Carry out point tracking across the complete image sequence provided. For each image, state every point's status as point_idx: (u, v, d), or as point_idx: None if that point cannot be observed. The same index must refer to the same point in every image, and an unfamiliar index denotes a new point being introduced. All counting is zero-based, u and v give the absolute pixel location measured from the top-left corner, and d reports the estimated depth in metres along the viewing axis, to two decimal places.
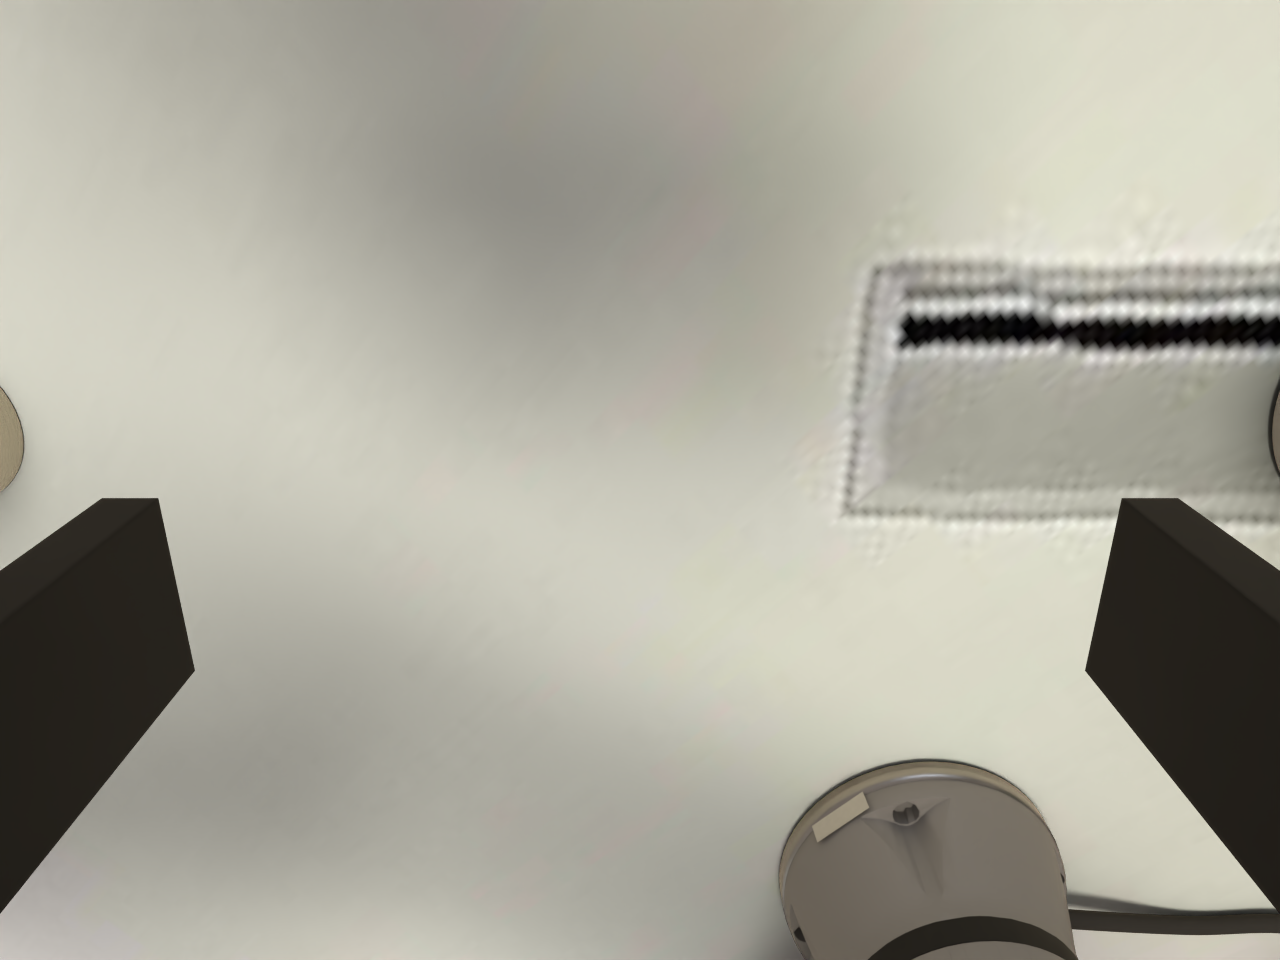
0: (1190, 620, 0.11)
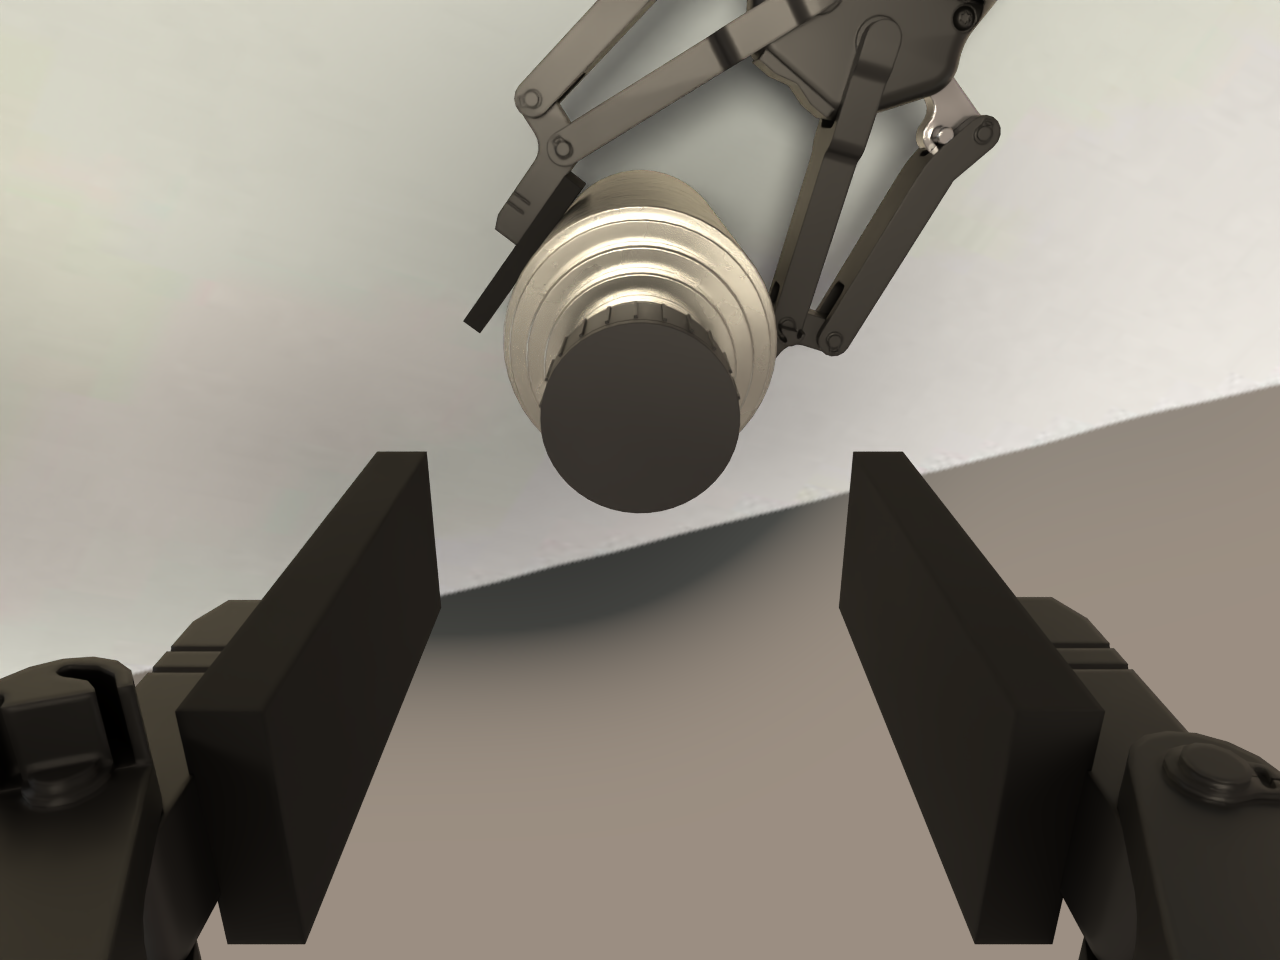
0: (879, 551, 0.12)
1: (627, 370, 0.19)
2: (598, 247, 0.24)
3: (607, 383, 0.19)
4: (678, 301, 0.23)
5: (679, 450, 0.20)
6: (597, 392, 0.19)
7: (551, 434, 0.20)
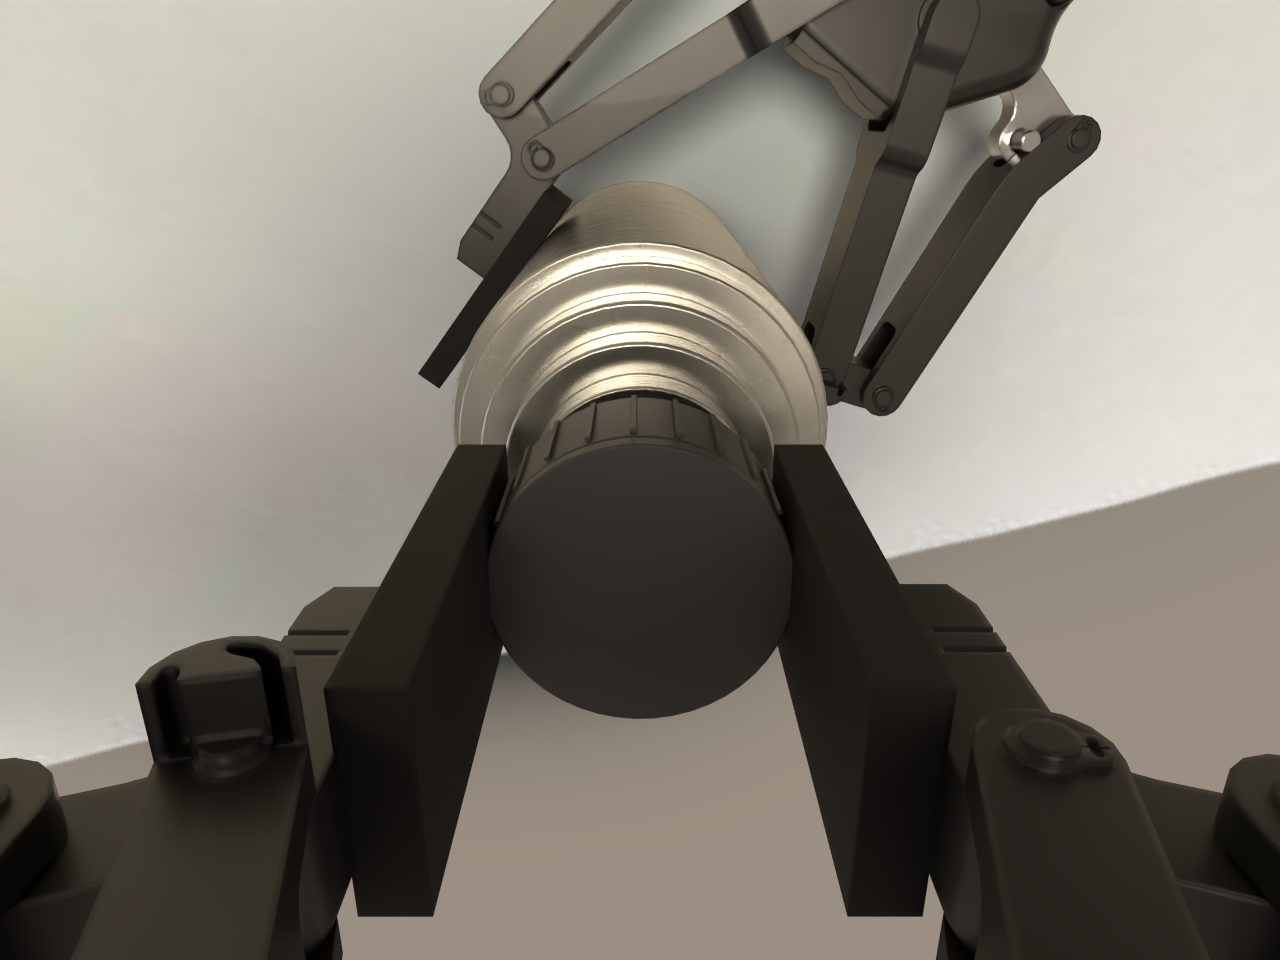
0: (790, 540, 0.13)
1: (620, 515, 0.12)
2: (581, 301, 0.17)
3: (589, 534, 0.12)
4: (695, 383, 0.16)
5: (700, 631, 0.13)
6: (574, 548, 0.12)
7: (503, 608, 0.13)
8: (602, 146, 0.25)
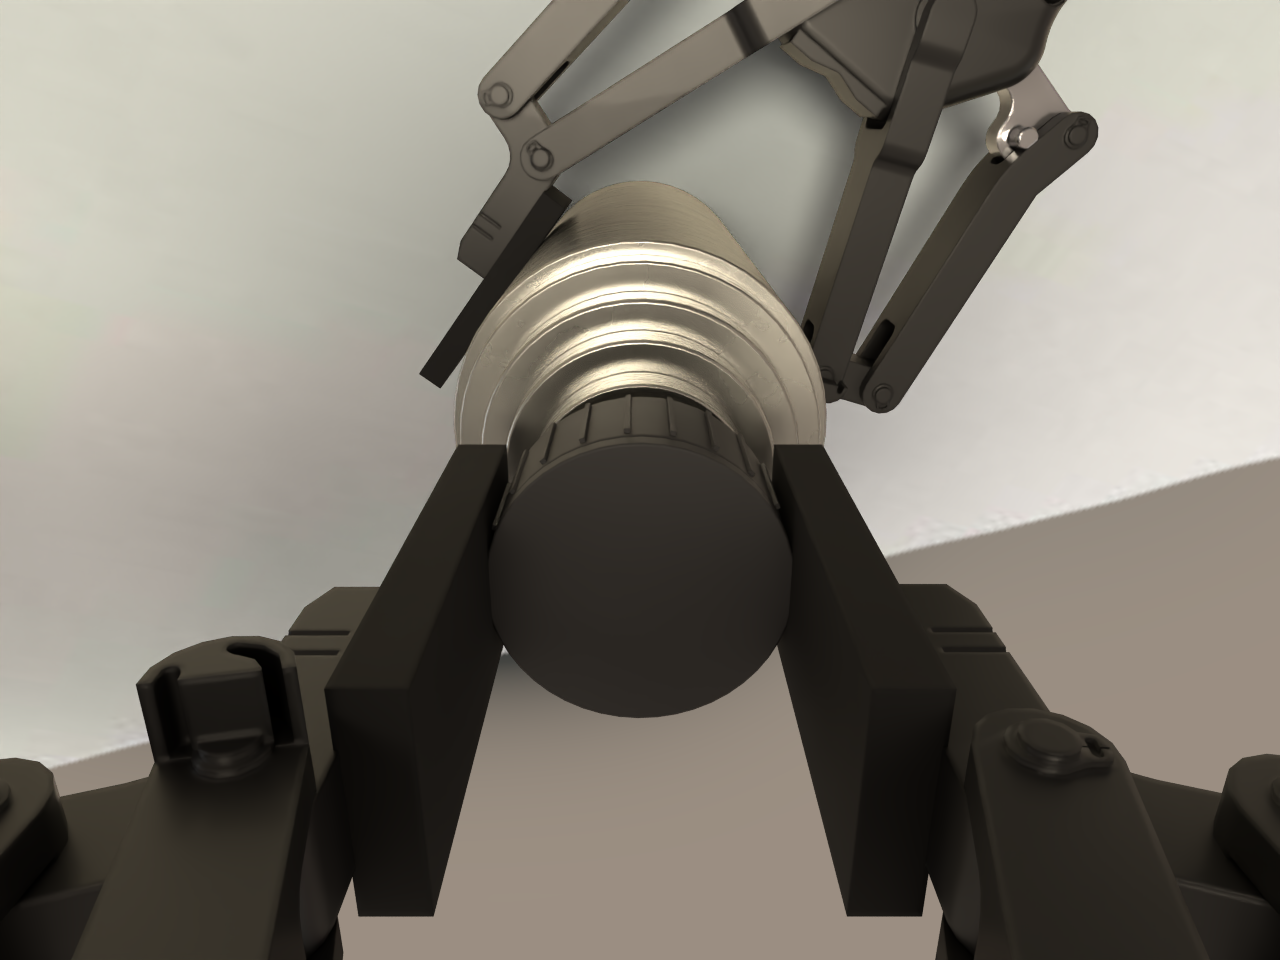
0: (789, 541, 0.13)
1: (556, 599, 0.13)
2: (580, 300, 0.17)
3: (574, 627, 0.13)
4: (694, 380, 0.16)
5: (694, 538, 0.12)
6: (587, 640, 0.13)
7: (645, 706, 0.13)
8: (601, 146, 0.25)
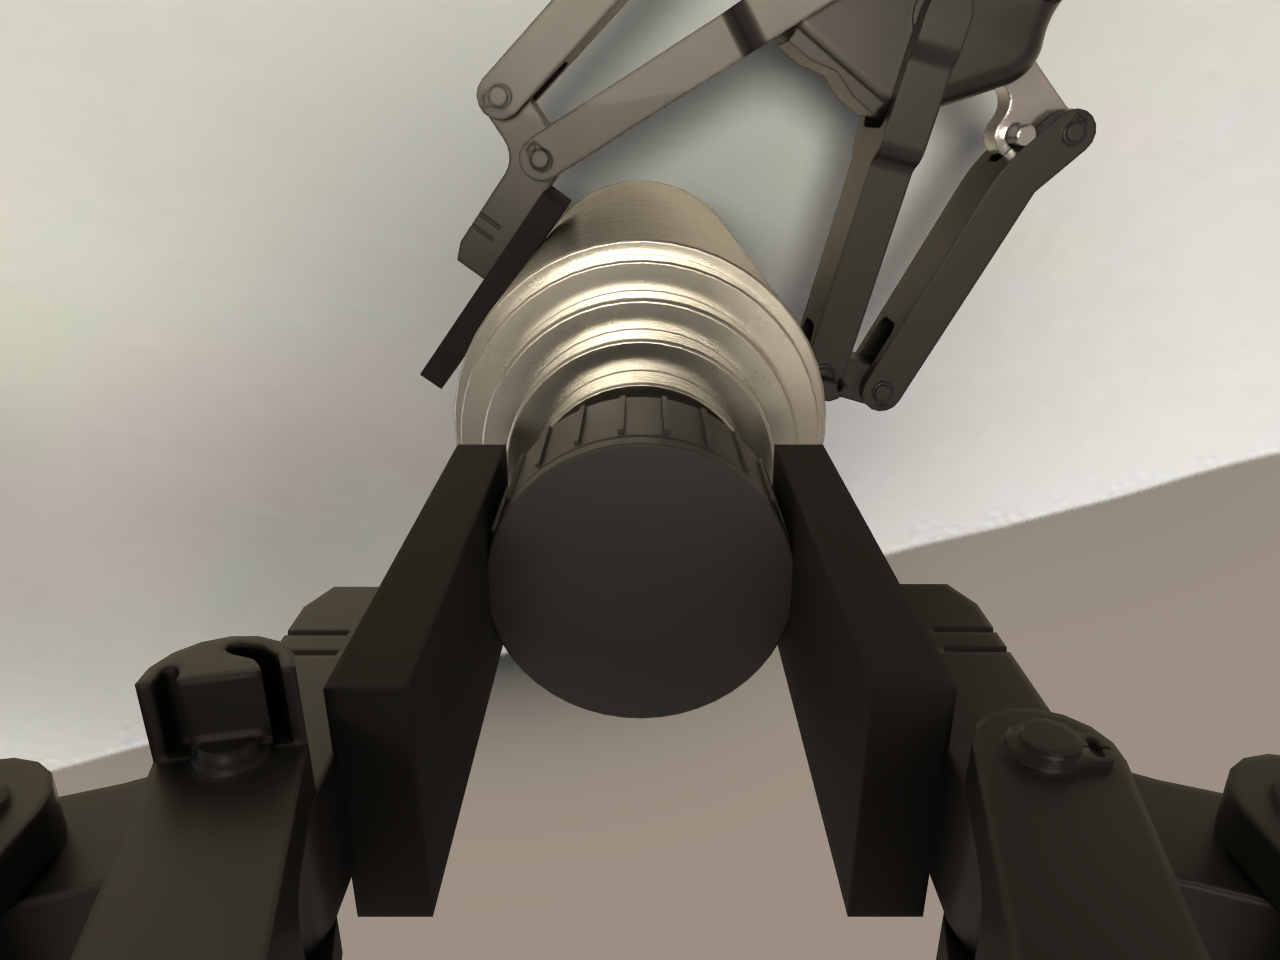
0: (790, 540, 0.13)
1: (642, 662, 0.13)
2: (580, 299, 0.17)
3: (675, 651, 0.13)
4: (693, 379, 0.16)
5: (588, 537, 0.12)
6: (692, 642, 0.13)
7: (779, 598, 0.13)
8: (600, 146, 0.25)
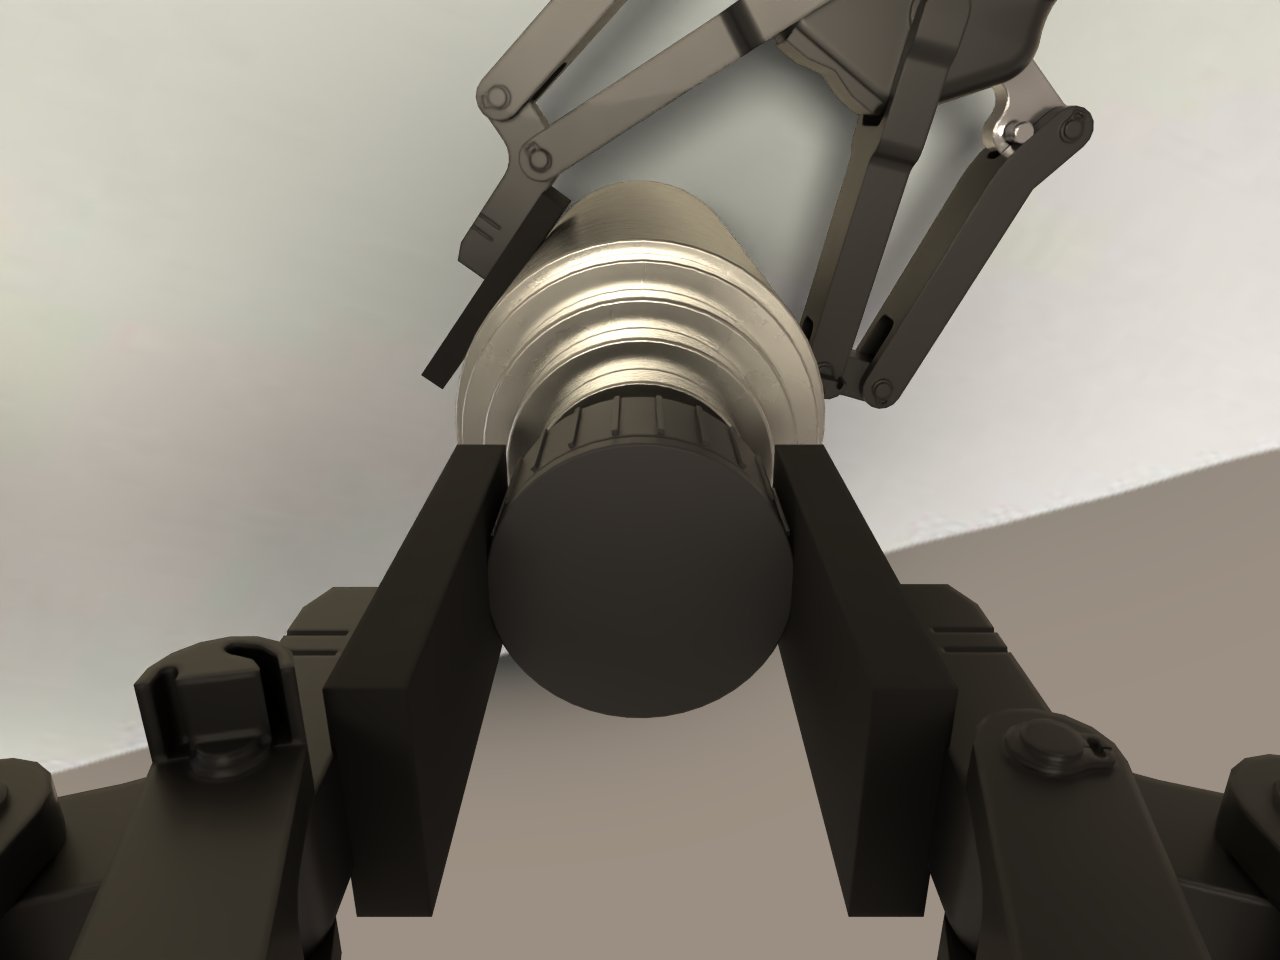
0: (790, 540, 0.13)
1: (724, 596, 0.13)
2: (579, 299, 0.17)
3: (715, 564, 0.12)
4: (692, 376, 0.16)
5: (578, 628, 0.13)
6: (706, 547, 0.12)
7: (665, 461, 0.12)
8: (599, 146, 0.25)
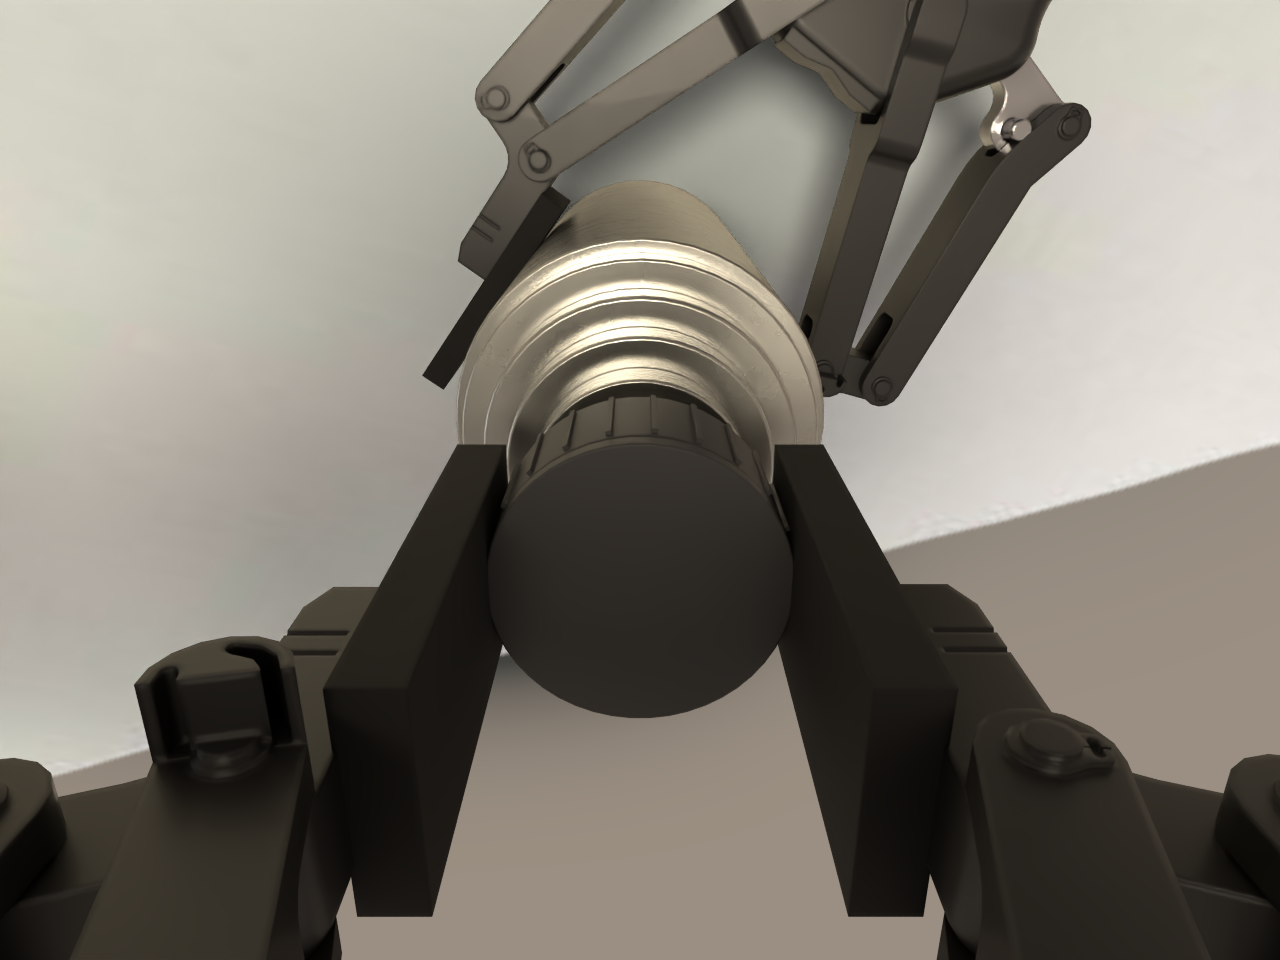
0: (790, 541, 0.13)
1: (656, 514, 0.12)
2: (578, 298, 0.17)
3: (619, 520, 0.12)
4: (691, 375, 0.16)
5: (676, 648, 0.13)
6: (599, 527, 0.12)
7: (503, 556, 0.12)
8: (598, 146, 0.25)
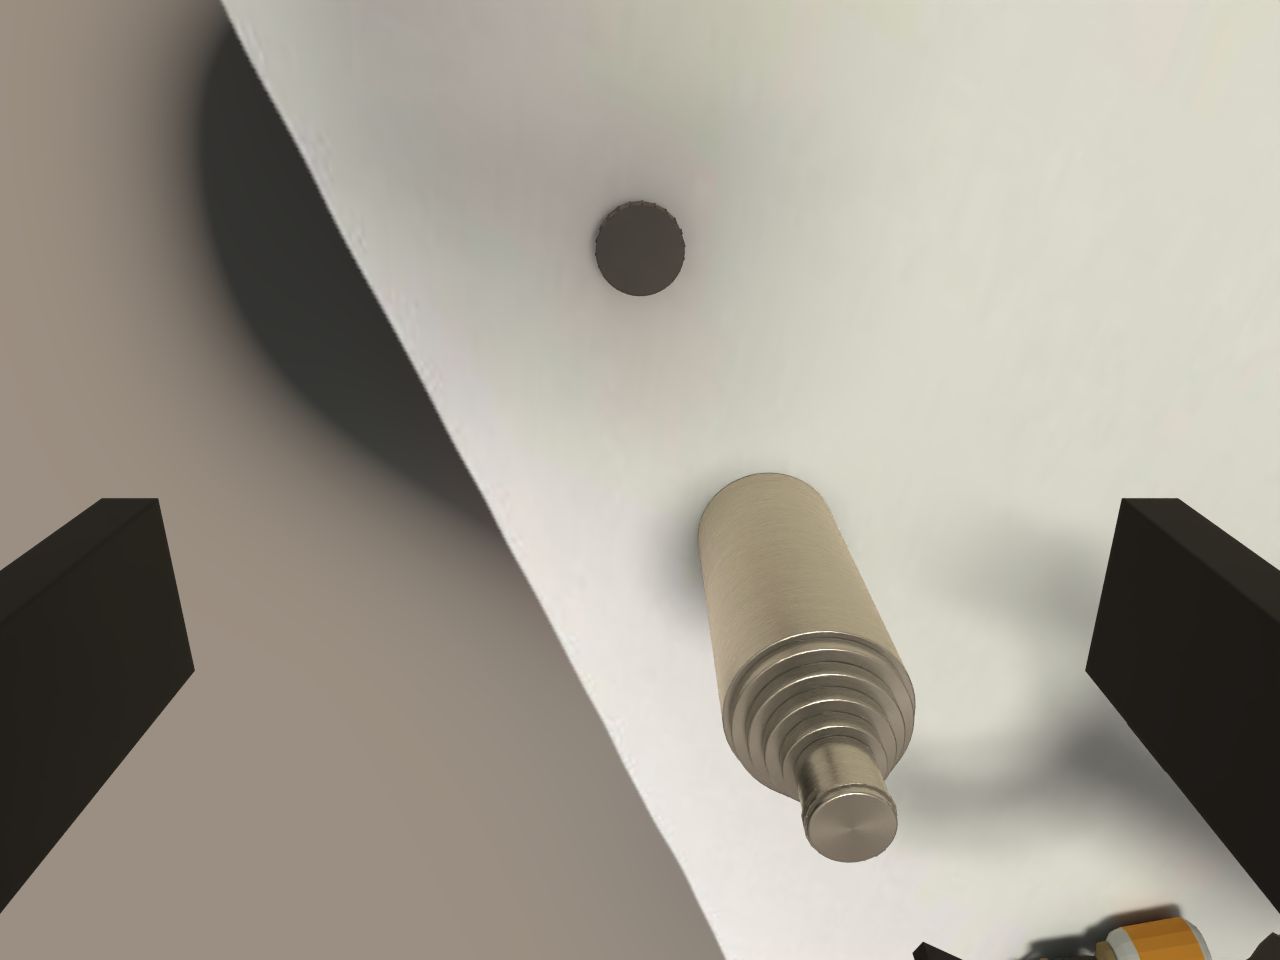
0: (1190, 620, 0.11)
1: (617, 244, 0.44)
2: (895, 696, 0.35)
3: (617, 255, 0.44)
4: None
5: (660, 242, 0.44)
6: (619, 261, 0.44)
7: (625, 289, 0.45)
8: None
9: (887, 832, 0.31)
